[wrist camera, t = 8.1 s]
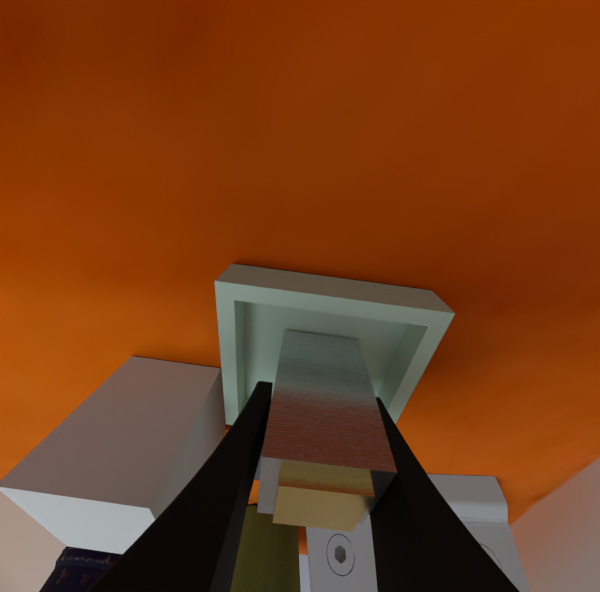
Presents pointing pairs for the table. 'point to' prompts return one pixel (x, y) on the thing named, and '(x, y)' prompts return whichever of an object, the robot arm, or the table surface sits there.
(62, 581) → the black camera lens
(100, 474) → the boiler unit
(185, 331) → the table surface
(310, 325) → the tray
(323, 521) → the block
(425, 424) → the table surface
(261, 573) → the plant pot
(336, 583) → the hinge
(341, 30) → the table surface
